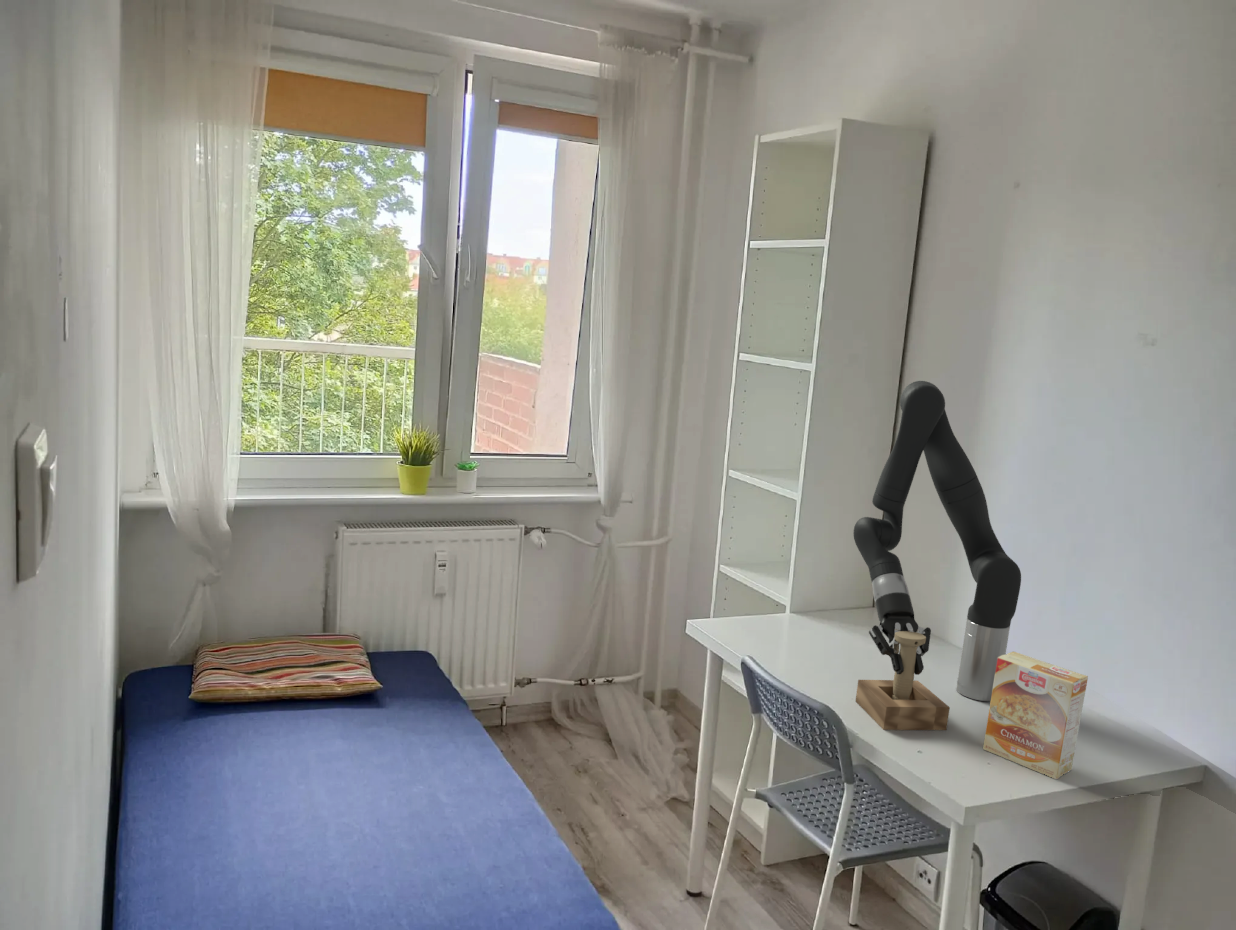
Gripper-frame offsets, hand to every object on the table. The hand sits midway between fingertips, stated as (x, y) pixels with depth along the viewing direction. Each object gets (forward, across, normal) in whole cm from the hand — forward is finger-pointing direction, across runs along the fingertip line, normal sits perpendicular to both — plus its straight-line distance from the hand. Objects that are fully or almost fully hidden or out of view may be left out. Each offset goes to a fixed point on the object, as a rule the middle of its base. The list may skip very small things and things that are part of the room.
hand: (909, 672), depth 201 cm
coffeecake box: (+20, +17, -6) cm, 27 cm away
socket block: (+6, 0, +8) cm, 10 cm away
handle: (+4, 0, +7) cm, 8 cm away
